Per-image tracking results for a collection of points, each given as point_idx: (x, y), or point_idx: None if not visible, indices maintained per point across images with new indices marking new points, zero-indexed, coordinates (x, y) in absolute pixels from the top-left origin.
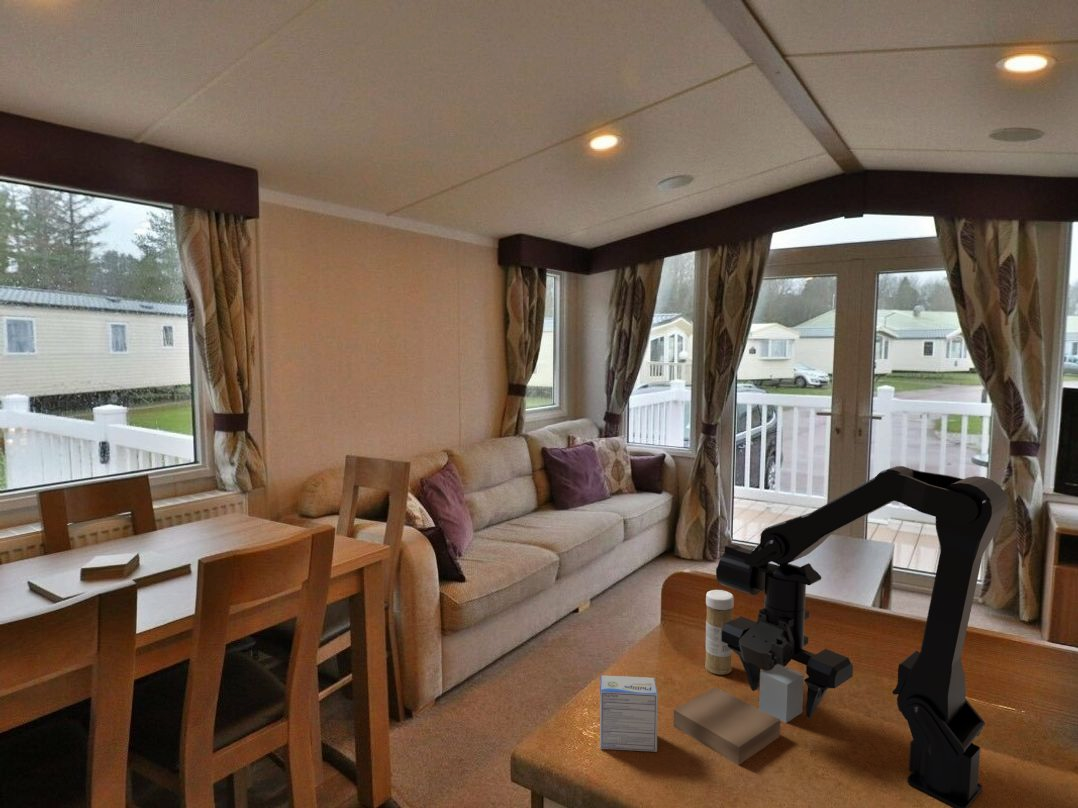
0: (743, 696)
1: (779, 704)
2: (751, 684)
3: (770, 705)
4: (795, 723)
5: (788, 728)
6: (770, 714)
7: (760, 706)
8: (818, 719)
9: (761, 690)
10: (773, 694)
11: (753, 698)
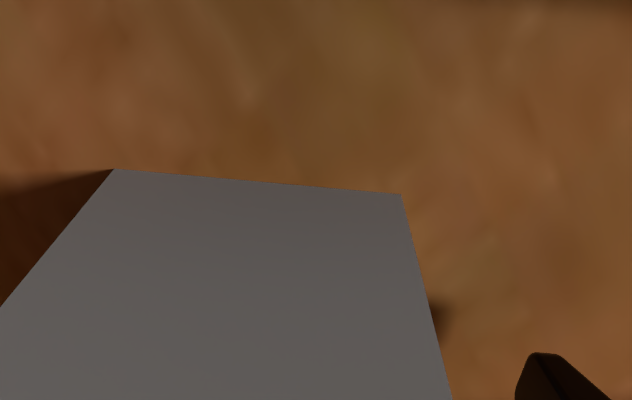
0: (596, 275)
1: (138, 264)
2: (583, 398)
3: (270, 235)
4: (65, 219)
5: (44, 106)
6: (276, 185)
7: (389, 210)
8: None
9: (406, 336)
10: (207, 340)
11: (509, 303)
